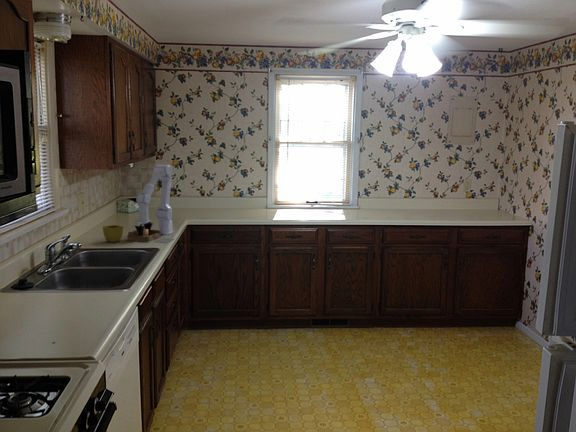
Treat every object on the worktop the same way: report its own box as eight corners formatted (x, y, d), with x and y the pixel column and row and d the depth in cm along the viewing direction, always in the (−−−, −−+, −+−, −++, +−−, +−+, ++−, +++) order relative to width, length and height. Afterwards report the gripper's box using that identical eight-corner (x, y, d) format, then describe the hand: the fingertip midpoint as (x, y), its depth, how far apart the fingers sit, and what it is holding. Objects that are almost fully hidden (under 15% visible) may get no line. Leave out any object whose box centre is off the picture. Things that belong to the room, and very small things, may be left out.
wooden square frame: (140, 235, 355) (140, 228, 354) (160, 237, 351) (160, 230, 350) (127, 240, 341) (127, 232, 341) (148, 241, 337) (148, 234, 336)
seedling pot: (142, 237, 349) (142, 228, 348) (150, 238, 348) (149, 228, 347) (138, 239, 344) (138, 229, 343) (145, 239, 343) (145, 230, 342)
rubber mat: (163, 238, 349) (163, 238, 349) (175, 239, 346) (175, 239, 346) (153, 241, 337) (153, 241, 337) (165, 243, 335) (165, 242, 335)
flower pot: (115, 239, 344) (115, 224, 342) (124, 241, 338) (123, 226, 337) (102, 241, 337) (102, 226, 335) (111, 243, 331) (110, 228, 330)
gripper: (144, 211, 351) (144, 233, 354) (131, 215, 338) (131, 237, 340) (154, 212, 349) (154, 234, 351) (141, 215, 336) (142, 238, 338)
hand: (144, 235), depth 346 cm, fingers open, 7 cm apart
